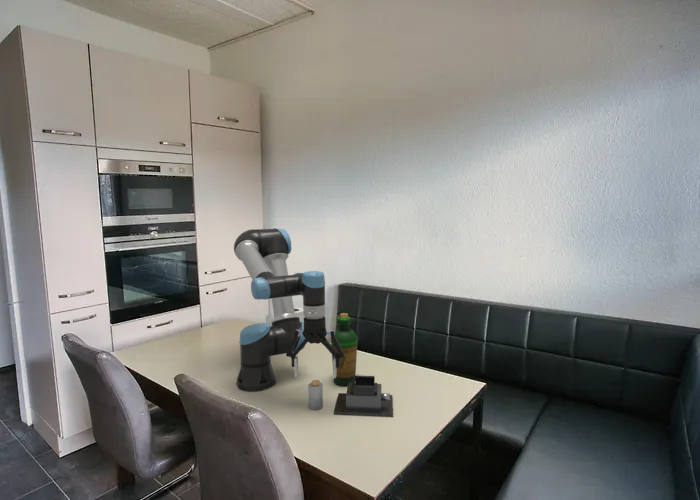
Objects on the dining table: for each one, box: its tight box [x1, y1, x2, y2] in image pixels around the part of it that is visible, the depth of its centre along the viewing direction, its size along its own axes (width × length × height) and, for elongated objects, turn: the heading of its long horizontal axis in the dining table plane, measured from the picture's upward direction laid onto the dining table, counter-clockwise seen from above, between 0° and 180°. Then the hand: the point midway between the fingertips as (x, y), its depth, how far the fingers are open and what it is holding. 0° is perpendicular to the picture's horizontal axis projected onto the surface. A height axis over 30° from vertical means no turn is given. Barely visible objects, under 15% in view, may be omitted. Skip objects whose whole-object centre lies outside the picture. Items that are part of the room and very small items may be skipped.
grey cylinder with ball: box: [307, 379, 324, 411], centre depth 144 cm, size 5×5×9 cm
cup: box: [294, 307, 305, 322], centre depth 209 cm, size 11×11×18 cm
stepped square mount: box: [333, 374, 394, 418], centre depth 144 cm, size 20×14×9 cm
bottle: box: [330, 312, 359, 387], centre depth 163 cm, size 11×11×28 cm
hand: (315, 376), depth 143 cm, fingers open, 13 cm apart
